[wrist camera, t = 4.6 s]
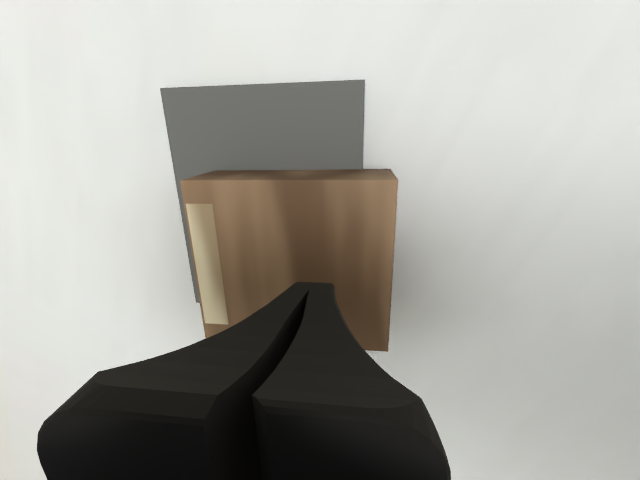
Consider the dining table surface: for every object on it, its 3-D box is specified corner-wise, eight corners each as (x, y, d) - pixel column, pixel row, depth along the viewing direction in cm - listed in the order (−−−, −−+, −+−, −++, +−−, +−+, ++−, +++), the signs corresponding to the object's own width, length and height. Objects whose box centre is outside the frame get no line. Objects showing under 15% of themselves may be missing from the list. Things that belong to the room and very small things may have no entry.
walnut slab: (398, 179, 12) (179, 180, 13) (387, 351, 15) (206, 340, 16) (390, 169, 16) (215, 170, 17) (383, 311, 18) (232, 304, 19)
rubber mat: (364, 80, 15) (364, 79, 14) (359, 306, 19) (359, 310, 18) (164, 89, 16) (160, 88, 16) (199, 299, 20) (196, 302, 20)
